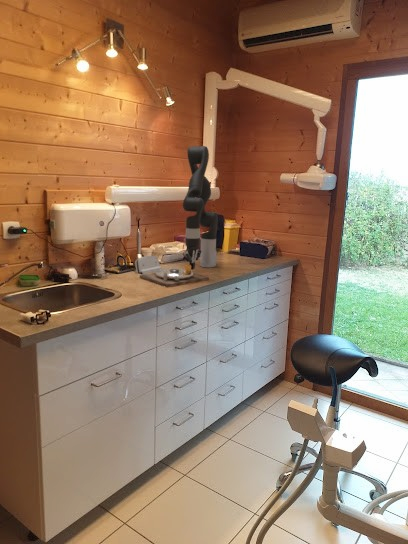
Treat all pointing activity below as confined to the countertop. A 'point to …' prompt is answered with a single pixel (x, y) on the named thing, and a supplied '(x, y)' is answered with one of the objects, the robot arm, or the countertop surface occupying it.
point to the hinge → (147, 264)
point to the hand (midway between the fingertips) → (192, 269)
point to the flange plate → (176, 272)
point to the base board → (172, 282)
